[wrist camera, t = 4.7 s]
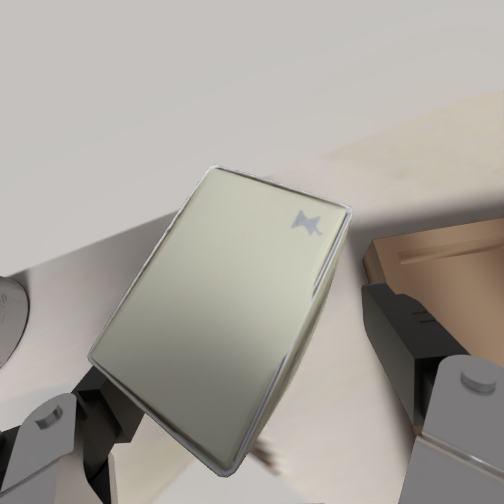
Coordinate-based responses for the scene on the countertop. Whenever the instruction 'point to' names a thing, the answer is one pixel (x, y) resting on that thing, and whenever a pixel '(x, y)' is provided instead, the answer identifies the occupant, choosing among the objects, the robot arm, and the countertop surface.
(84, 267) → the countertop surface
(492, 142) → the countertop surface
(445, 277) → the walnut tray
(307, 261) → the skincare box
